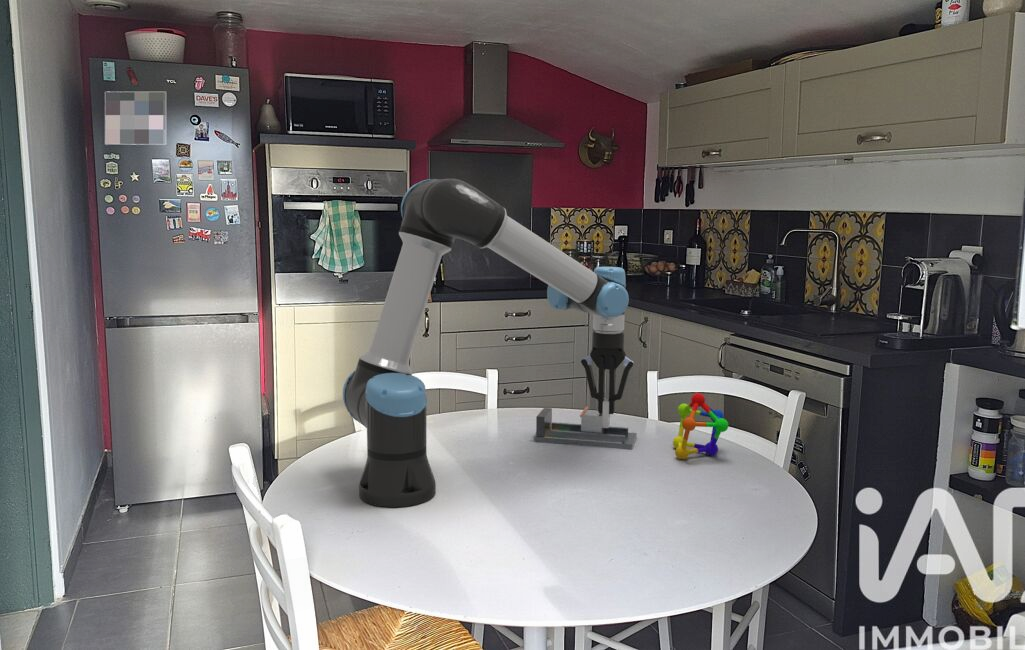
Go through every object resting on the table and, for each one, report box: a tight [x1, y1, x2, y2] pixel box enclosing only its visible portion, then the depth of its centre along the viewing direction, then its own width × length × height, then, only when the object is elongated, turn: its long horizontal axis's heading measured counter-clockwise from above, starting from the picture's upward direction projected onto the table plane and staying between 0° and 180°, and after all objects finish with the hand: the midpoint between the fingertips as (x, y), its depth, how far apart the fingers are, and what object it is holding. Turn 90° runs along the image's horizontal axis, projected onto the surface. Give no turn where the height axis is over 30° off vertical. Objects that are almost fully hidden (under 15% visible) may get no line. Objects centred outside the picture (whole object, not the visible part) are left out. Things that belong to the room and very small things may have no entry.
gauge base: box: [533, 407, 638, 450], centre depth 201 cm, size 24×10×6 cm, turn 76°
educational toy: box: [672, 392, 729, 460], centre depth 190 cm, size 16×13×15 cm
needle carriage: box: [579, 406, 604, 434], centre depth 201 cm, size 5×9×6 cm, turn 166°
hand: (605, 426), depth 200 cm, fingers closed
